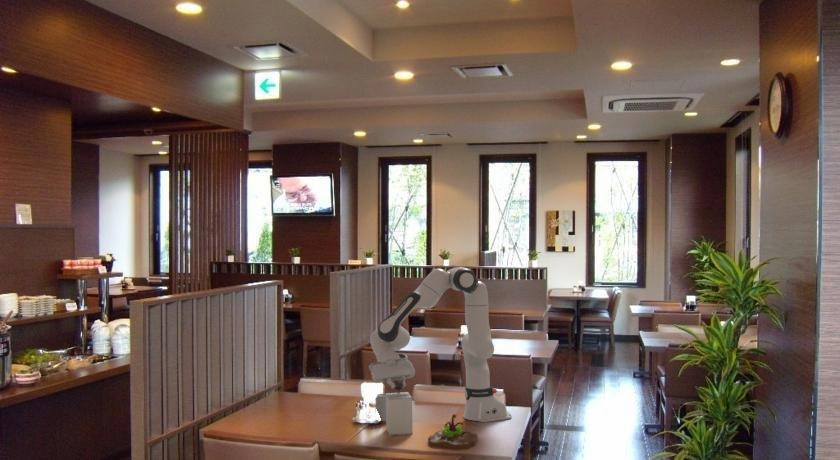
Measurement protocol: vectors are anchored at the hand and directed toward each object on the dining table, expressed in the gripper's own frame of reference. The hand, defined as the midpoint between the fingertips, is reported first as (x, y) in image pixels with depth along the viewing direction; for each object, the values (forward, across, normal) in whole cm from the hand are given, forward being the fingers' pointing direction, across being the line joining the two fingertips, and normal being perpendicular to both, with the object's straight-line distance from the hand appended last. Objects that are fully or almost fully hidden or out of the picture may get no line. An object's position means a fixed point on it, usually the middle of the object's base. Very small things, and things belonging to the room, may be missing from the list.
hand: (399, 387), depth 300 cm
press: (+14, 0, +14) cm, 20 cm away
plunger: (+14, 0, +14) cm, 20 cm away
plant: (+32, +12, -3) cm, 34 cm away
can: (-1, +3, +29) cm, 29 cm away
